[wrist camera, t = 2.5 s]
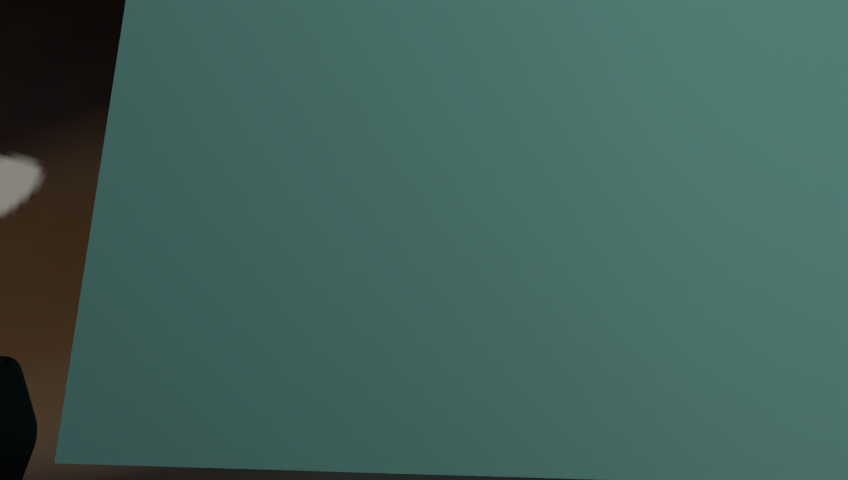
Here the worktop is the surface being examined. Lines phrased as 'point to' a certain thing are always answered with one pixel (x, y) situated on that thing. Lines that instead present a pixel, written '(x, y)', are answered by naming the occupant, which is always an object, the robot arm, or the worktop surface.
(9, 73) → the worktop surface
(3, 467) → the robot arm
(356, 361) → the teal peg
